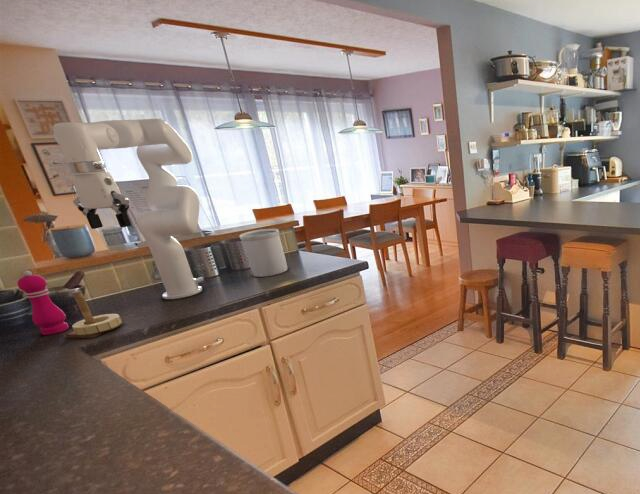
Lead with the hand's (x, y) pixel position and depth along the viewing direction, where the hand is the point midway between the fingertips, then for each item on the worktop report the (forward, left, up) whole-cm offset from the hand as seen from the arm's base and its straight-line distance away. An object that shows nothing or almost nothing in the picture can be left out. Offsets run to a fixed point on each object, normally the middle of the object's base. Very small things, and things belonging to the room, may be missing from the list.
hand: (111, 227), depth 133 cm
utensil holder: (-50, +11, -31) cm, 60 cm away
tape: (+10, -7, -29) cm, 32 cm away
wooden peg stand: (+10, -9, -30) cm, 33 cm away
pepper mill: (+9, -24, -31) cm, 40 cm away
